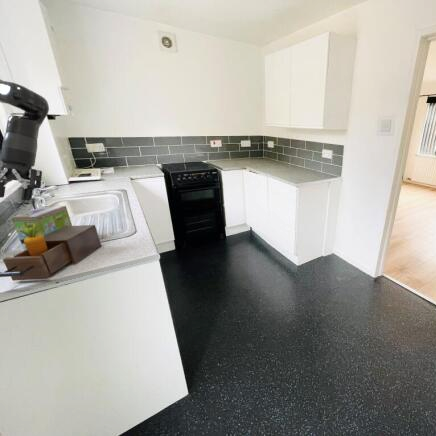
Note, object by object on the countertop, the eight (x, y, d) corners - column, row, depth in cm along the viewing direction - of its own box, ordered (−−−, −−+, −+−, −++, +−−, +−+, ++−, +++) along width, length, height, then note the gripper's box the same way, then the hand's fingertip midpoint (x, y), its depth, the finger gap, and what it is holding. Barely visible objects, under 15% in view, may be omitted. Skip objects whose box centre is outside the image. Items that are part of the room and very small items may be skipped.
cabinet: (75, 264, 89) (66, 240, 85) (41, 265, 88) (31, 241, 85) (101, 246, 102) (95, 224, 99) (72, 247, 102) (64, 226, 98)
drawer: (33, 288, 74) (23, 265, 71) (-4, 290, 73) (-16, 267, 70) (78, 258, 91) (71, 239, 88) (48, 259, 90) (41, 240, 88)
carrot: (32, 272, 80) (13, 229, 75) (39, 264, 84) (22, 224, 79) (51, 268, 82) (34, 227, 77) (57, 261, 86) (42, 222, 81)
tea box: (52, 250, 100) (38, 215, 94) (23, 252, 98) (8, 217, 93) (76, 235, 113) (66, 204, 108) (52, 236, 112) (40, 206, 107)
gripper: (52, 155, 84) (45, 202, 83) (10, 150, 83) (2, 197, 83) (30, 149, 76) (22, 200, 76) (-17, 143, 76) (-25, 194, 75)
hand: (12, 198), depth 79 cm, fingers open, 8 cm apart
